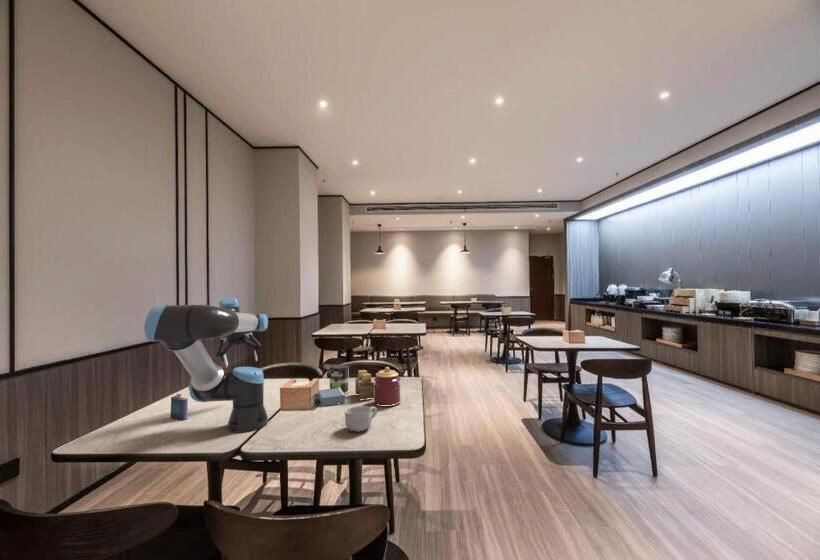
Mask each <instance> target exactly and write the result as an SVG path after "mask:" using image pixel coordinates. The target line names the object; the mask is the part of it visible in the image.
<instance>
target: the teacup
mask: <svg viewBox="0 0 820 560" xmlns="http://www.w3.org/2000/svg"><path fill="white" fill-rule="evenodd" d="M372 410H374V411H373V414H372ZM377 413H378V409H377V407H375V406H366V405H365V406H364V405H358V406H357V405H356V406H351V407H349V408H347V409H345V410H344V420H345V421H344V423H345V426H346V429H348V430H349V431H350V430H351V431H350V432H352V431H362V432H364V431H363V430H365V431H366V429H367V428H368V429H369V428H370V427H371V425H372V420H374V418H375V417H376V415H377ZM368 429H367V430H368Z"/></svg>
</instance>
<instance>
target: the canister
mask: <svg viewBox="0 0 820 560" xmlns="http://www.w3.org/2000/svg"><path fill="white" fill-rule="evenodd" d="M399 374H400V373H398V372H397V371H396V370H394V369H390V366H386V367H384V369H381V370H379V371H378V372H376V373H375V377H374V379H373V382H374V400H373V402H374V404H375V403H376V404H379V405H392V404H396V403H398V402H400V403H401V384H400V381H401V378H400V376H399ZM376 404H375V405H376Z"/></svg>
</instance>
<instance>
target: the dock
mask: <svg viewBox="0 0 820 560" xmlns="http://www.w3.org/2000/svg"><path fill="white" fill-rule="evenodd" d="M318 400H319V402H321V403H320V405H321V407H326V406H325V405H329V406H333V405H332V404H337V405H339V404H338V403H345V404H346V394H344V393H343V392H342V390H341V389H340V387H339V388H335V389H330V388H328V389H327V388H326V389H319V390H318Z"/></svg>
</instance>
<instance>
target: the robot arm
mask: <svg viewBox="0 0 820 560" xmlns="http://www.w3.org/2000/svg"><path fill="white" fill-rule="evenodd" d="M268 325H269V318H268V315H267V314H265V313H248V312H247V313H246V312H245V313H244V312H241V309H240V304H239V302H238V299H237V297H233V296H227V297H223V298H222V299H220V301H219V306H214V305H207V304H177V305H176V304H171V305H170V304H164V305H161V304H160V305H156V306H153V307H152V308H151V309H150V310H149V311H148V312H147V315H146V318H145V321H144V328H143V329H144V330H143V331H144V332H143V333H144V336H145V338H146V340H147V341H149V342H153V343H156V342H160V343H161V345H162V346H163V347H164V349H166V350H167V351H171V352H174V354H175V355H176V357H177V358H178V360H179V361H180V362H181V364H182V365H183V367H184V368H185V369H186V371H187V373H188V374H189V375H190V376H191V378H190V380H189V384H188V391H189V396H190V398H191V399H193V401H195V402H201V403H209V402H224V401H225V402H227V401H228V402H229V401H231V402H232V409H231V412H230V416H229V417H228V422H227V429H228V431H230V430H231V431H230V432H233V431H236V432H235V433H245V432H244V431H246V432H251V431H250V430H252V431H255V429H256V430H259V429H262V428H265V426H267V425H268V423H269V417H268V414H267V411H266V407H265V405H264V403H265V402H264V397H265V396H264V395H265V393H264V391H265V390H264V386H265V384H264V382H265V379H264V378H265V377H264V371H263V370H262V369H260V368H259V367H254V366H238V367H235V368H233V369H232V371H231V370H230V371H225V370H224V369H223V368H222V366H220V365H218V364H215V363H214V361H213V359H212V358H211V355H210V354H209V352H208V350H207V349H206V346H205V344H203V342H202V341H204V340H205V341H206V340H212V339H216V338H220V340H219V341H220V342H219V344H218V347H217V350H216V352H215V356H216V357H220V359H221V361H222V362H224V365H225V368H228V367H229V366H228V365H229V362H228V359H227V354H226V353H227V352H228V351H229V350H230V348H231V347H232V346H237V345H241V344H243V345H246V346H248V347H249V348H251V349H253V353H254V359H255V362H258V356H259V354H260V352H259V349H262V343H261V342H260V341H259V340H258V339H257V338H256V337H255V336H254V335H253V333H252V332H265V331H266V330H267V329H268ZM245 332H248V333H245ZM226 342H228V343H227V344H226V345H225V346H224V343H226ZM223 346H224V347H223ZM238 431H239V432H238Z"/></svg>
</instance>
